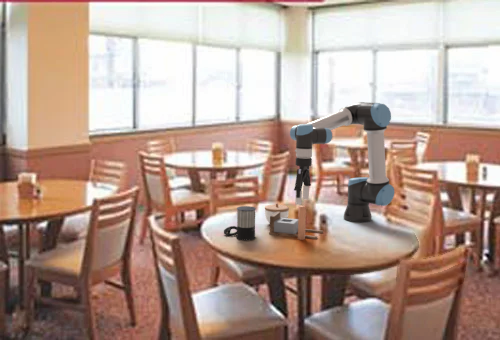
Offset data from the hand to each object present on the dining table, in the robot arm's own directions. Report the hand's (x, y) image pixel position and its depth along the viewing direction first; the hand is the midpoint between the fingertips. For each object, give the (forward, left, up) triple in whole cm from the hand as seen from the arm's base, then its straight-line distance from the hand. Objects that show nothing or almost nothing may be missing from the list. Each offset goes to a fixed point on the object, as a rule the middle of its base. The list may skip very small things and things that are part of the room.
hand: (302, 201), depth 289 cm
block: (+10, -9, -18) cm, 23 cm away
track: (+5, -9, -18) cm, 21 cm away
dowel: (0, 0, -18) cm, 18 cm away
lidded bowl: (+20, -25, -19) cm, 37 cm away
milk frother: (+29, +7, -19) cm, 35 cm away
